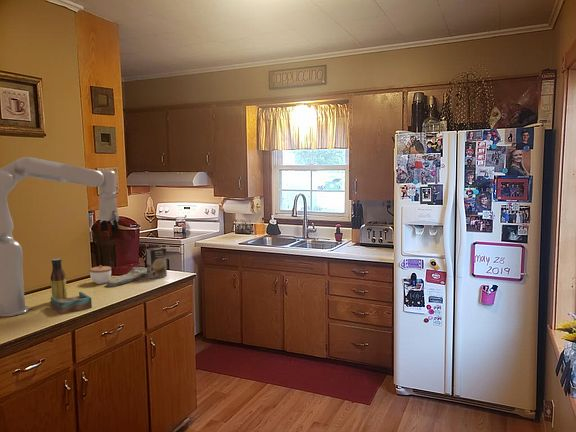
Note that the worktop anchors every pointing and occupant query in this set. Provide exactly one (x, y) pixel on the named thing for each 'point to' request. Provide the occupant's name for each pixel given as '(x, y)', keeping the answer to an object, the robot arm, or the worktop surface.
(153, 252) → the coffee box
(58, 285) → the sauce bottle
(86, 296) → the dock
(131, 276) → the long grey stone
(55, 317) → the worktop surface
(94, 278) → the lidded jar
